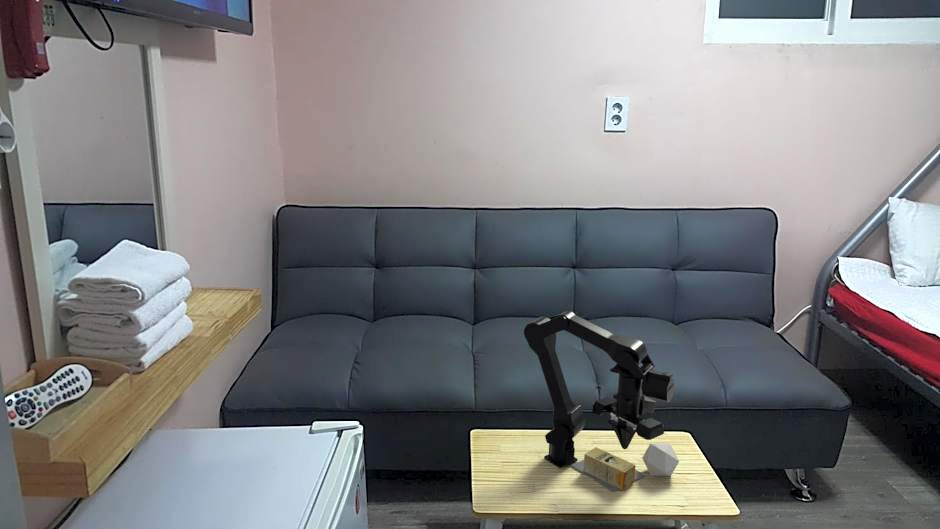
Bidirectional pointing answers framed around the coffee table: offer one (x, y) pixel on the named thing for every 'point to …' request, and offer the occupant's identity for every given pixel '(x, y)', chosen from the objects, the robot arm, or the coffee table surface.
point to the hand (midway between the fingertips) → (624, 448)
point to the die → (660, 459)
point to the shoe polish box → (609, 468)
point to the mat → (580, 467)
